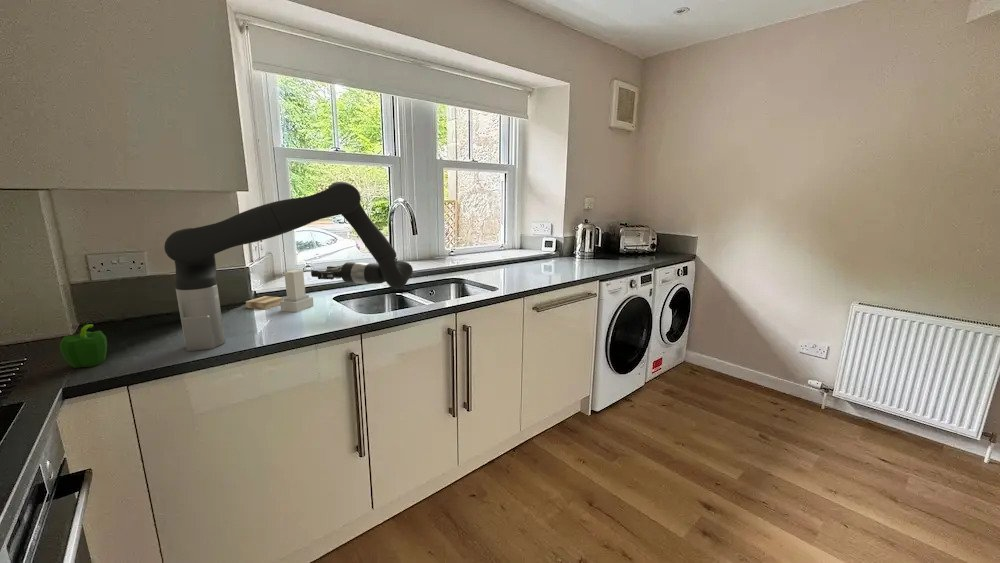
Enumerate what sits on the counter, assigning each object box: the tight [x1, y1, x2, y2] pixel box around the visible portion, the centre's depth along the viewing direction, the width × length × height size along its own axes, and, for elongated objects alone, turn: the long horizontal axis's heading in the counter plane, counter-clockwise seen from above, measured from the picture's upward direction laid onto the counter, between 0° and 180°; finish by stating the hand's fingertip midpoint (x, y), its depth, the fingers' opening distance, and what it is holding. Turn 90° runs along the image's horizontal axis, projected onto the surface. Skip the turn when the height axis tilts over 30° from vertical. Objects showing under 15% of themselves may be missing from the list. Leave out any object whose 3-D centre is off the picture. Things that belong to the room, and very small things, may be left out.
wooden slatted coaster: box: [245, 295, 284, 310], centre depth 154 cm, size 9×9×2 cm
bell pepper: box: [58, 323, 108, 369], centre depth 99 cm, size 8×8×10 cm
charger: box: [284, 269, 307, 299], centre depth 149 cm, size 5×4×11 cm
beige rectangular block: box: [279, 294, 315, 313], centre depth 151 cm, size 9×7×4 cm
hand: (319, 271), depth 145 cm, fingers open, 8 cm apart
